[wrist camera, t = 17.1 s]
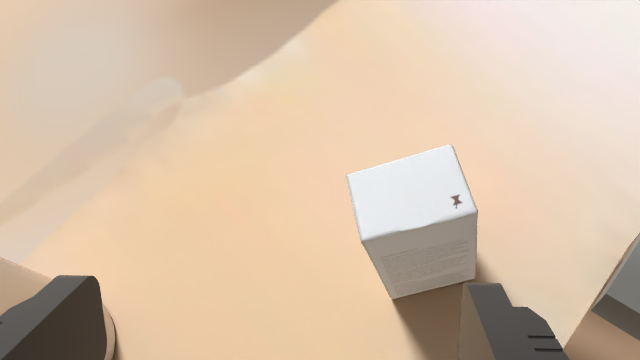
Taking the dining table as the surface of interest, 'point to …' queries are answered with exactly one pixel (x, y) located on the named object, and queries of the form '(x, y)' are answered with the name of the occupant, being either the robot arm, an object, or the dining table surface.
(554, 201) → the dining table surface
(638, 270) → the slanted top stand
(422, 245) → the skincare box
